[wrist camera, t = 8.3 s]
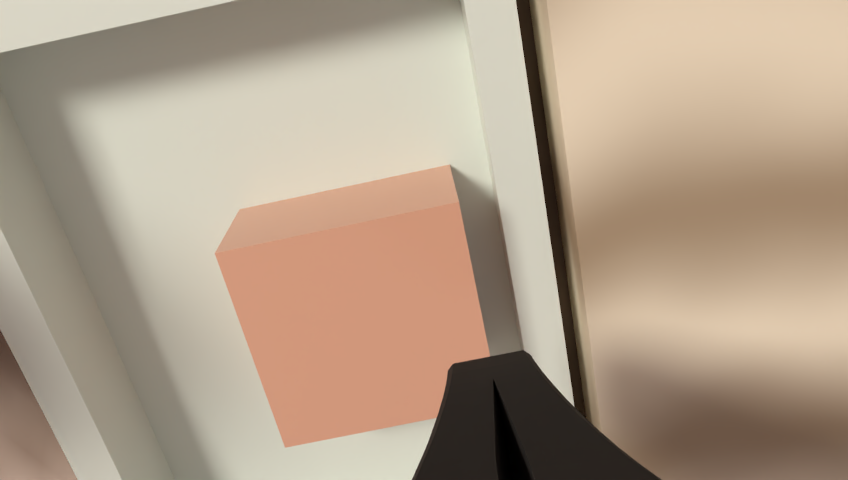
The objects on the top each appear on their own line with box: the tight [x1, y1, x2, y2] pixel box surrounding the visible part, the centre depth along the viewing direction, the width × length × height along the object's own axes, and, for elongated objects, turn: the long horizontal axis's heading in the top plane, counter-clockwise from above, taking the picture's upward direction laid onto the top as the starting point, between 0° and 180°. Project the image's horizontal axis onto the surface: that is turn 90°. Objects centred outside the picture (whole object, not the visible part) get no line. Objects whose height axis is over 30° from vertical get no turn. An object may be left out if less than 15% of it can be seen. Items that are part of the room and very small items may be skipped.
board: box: [529, 0, 848, 480], centre depth 16 cm, size 16×12×2 cm
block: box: [215, 164, 490, 448], centre depth 16 cm, size 5×5×2 cm
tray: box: [0, 0, 574, 480], centre depth 17 cm, size 16×12×2 cm
